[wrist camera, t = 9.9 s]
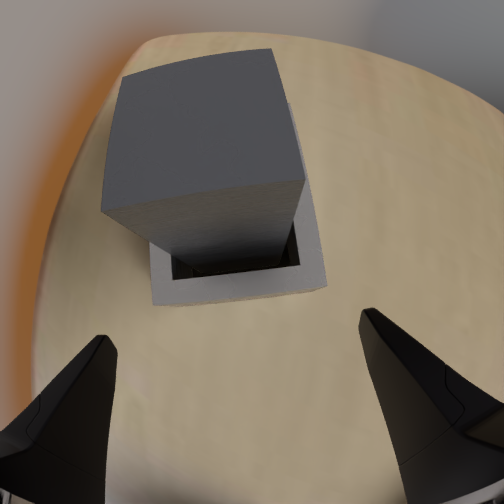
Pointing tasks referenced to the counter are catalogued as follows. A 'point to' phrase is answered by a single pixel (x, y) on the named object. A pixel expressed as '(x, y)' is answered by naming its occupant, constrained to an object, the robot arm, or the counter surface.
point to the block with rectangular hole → (247, 283)
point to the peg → (206, 160)
